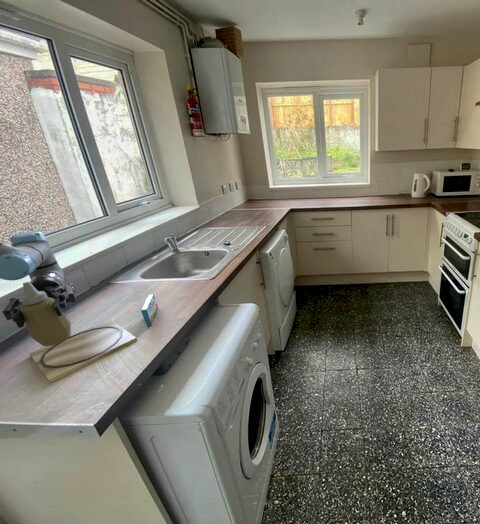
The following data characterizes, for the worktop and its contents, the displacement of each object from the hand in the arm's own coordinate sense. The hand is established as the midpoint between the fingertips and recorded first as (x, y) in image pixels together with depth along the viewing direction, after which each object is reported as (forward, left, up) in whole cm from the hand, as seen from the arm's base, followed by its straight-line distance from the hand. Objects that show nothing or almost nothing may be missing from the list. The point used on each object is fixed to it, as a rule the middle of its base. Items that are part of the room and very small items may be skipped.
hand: (38, 317), depth 73 cm
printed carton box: (-5, +25, -16) cm, 30 cm away
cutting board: (-5, +6, -16) cm, 18 cm away
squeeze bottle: (-5, +1, -10) cm, 11 cm away
